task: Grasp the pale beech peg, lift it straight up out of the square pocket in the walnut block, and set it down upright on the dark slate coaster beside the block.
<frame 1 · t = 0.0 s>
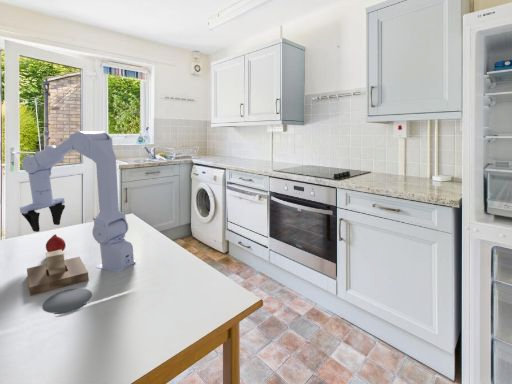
hand: (46, 227, 105), 10 cm above the table, tool pointing down, fingers open, 7 cm apart
pocket block: (58, 279, 90), on the table
peg: (58, 278, 90), resting on pocket block
red rounded piece: (57, 256, 106), on the table
coaster: (68, 301, 78), on the table
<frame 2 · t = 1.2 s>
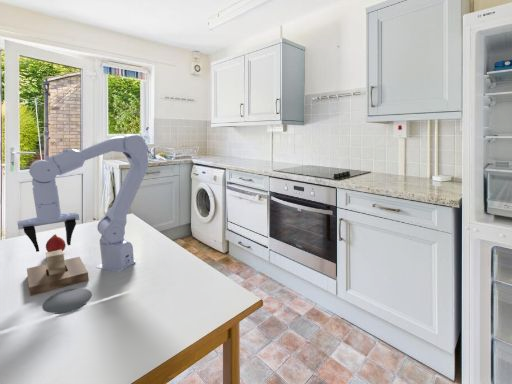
hand: (53, 247, 88), 10 cm above the table, tool pointing down, fingers open, 7 cm apart
nothing on the table moved.
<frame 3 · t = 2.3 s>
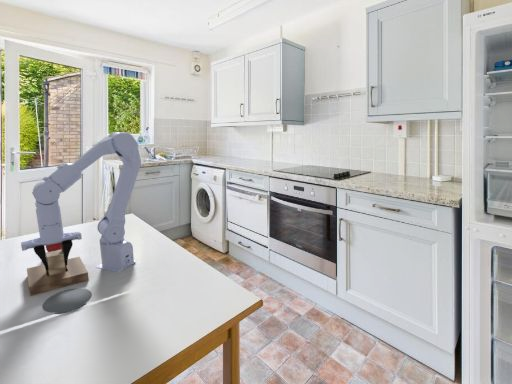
hand: (56, 266, 89), 4 cm above the table, tool pointing down, fingers closed on peg, 4 cm apart
peg: (58, 278, 90), resting on pocket block, touching gripper
everything else where it was.
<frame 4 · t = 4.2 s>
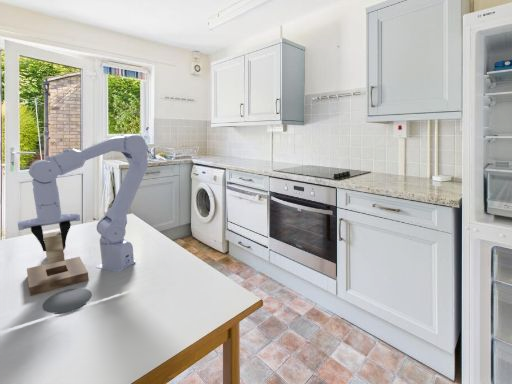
hand: (54, 248, 87), 10 cm above the table, tool pointing down, fingers closed on peg, 4 cm apart
peg: (55, 260, 88), point 7 cm above the table, touching gripper
everything else where it was.
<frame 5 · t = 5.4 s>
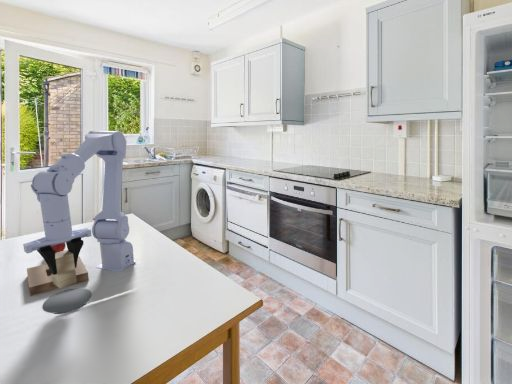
hand: (63, 269, 77), 9 cm above the table, tool pointing down, fingers closed on peg, 4 cm apart
peg: (65, 282, 78), point 5 cm above the table, touching gripper
everything else where it was.
when the fingers open (5 cm above the table, at t = 6.4 s): peg stays where it is, resting on coaster.
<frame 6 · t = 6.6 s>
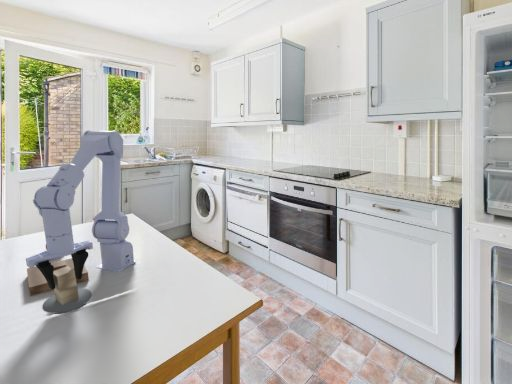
hand: (65, 282, 77), 5 cm above the table, tool pointing down, fingers open, 6 cm apart
peg: (67, 298, 79), point 1 cm above the table, touching coaster
everything else where it was.
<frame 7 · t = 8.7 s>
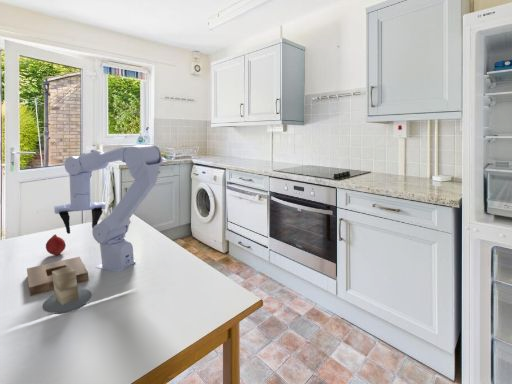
hand: (81, 230, 101), 11 cm above the table, tool pointing down, fingers open, 7 cm apart
nothing on the table moved.
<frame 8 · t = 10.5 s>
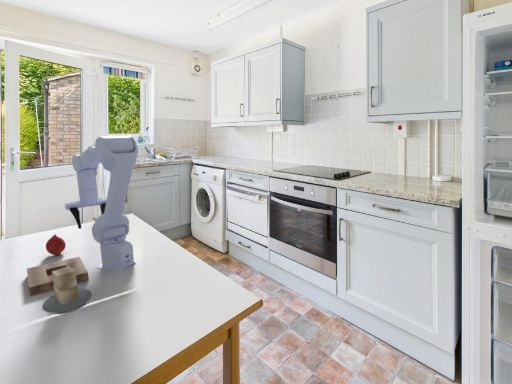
hand: (92, 225, 107), 10 cm above the table, tool pointing down, fingers open, 7 cm apart
nothing on the table moved.
at the end: peg 0.3 cm off-centre on the coaster, point 0.6 cm above the coaster's base; peg tilted 0°; peg touching coaster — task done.
